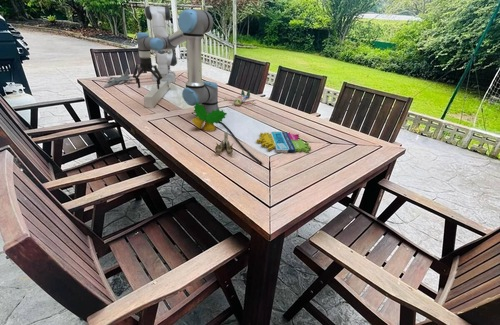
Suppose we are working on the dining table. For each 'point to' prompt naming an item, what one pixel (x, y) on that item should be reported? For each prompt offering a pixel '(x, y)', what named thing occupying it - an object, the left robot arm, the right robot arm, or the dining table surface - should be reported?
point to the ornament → (207, 117)
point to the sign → (283, 142)
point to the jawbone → (224, 145)
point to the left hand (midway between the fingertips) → (164, 86)
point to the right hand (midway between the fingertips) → (149, 88)
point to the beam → (155, 94)
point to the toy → (241, 99)
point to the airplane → (119, 79)
